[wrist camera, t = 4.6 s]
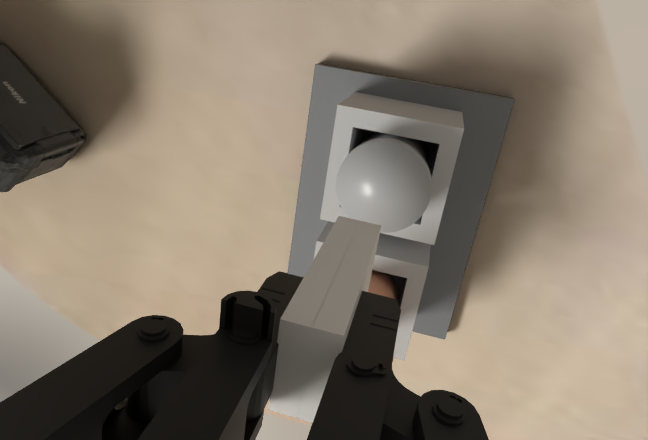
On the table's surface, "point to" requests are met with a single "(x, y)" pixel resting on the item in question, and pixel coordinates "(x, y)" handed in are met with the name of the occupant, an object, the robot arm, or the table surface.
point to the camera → (31, 126)
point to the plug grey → (385, 182)
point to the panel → (446, 173)
